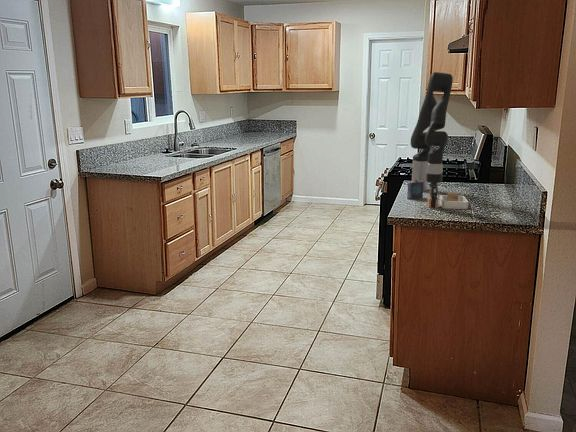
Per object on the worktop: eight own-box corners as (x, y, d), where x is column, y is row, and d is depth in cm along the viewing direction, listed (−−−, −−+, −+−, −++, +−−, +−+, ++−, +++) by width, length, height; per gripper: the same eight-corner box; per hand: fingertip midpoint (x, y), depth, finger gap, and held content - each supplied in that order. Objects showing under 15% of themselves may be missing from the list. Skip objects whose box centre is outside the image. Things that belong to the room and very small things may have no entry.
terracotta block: (427, 205, 254) (428, 197, 253) (436, 206, 253) (437, 197, 252) (428, 207, 249) (428, 198, 248) (437, 208, 249) (438, 199, 248)
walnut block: (447, 200, 259) (447, 192, 258) (456, 201, 258) (456, 192, 257) (448, 202, 255) (448, 194, 254) (457, 203, 254) (458, 194, 253)
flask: (408, 199, 269) (409, 179, 266) (405, 198, 272) (406, 178, 269) (423, 198, 272) (424, 178, 269) (420, 197, 274) (421, 177, 272)
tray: (439, 201, 262) (439, 195, 261) (463, 202, 260) (463, 195, 259) (442, 208, 248) (442, 201, 247) (468, 209, 245) (468, 202, 244)
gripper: (444, 174, 239) (441, 209, 244) (440, 170, 253) (438, 203, 257) (427, 174, 241) (425, 209, 245) (425, 169, 254) (423, 202, 259)
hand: (432, 206), depth 251 cm, fingers closed on terracotta block, 4 cm apart
